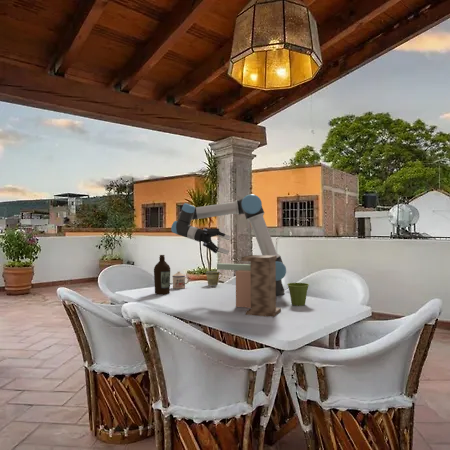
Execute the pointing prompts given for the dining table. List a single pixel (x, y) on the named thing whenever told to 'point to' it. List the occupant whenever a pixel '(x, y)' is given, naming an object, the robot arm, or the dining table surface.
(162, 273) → the olive oil
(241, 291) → the reddish brown block
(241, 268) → the handle rail
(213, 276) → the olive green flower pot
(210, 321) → the dining table surface
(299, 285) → the plant pot
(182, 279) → the teacup with lid
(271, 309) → the tall stand
